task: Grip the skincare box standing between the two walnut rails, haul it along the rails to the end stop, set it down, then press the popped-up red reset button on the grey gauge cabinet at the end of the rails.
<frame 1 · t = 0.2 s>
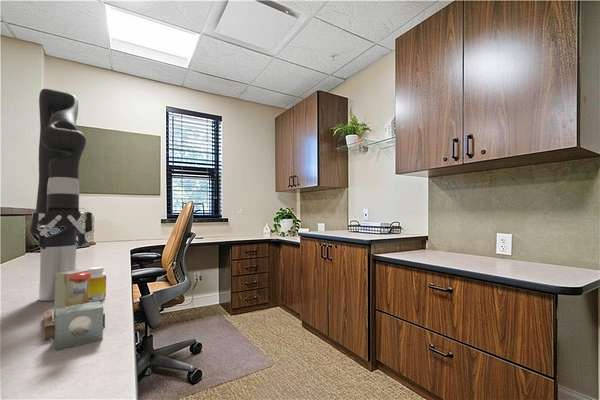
hand: (62, 247, 86), 18 cm above the table, tool pointing down, fingers open, 8 cm apart
gauge cabinet: (78, 340, 63), on the table
supplement bottle: (95, 300, 93), on the table
rail: (72, 322, 74), on the table
skincare box: (71, 317, 78), on the table
reset button: (80, 283, 64), point 12 cm above the table, slide at 3.0 cm
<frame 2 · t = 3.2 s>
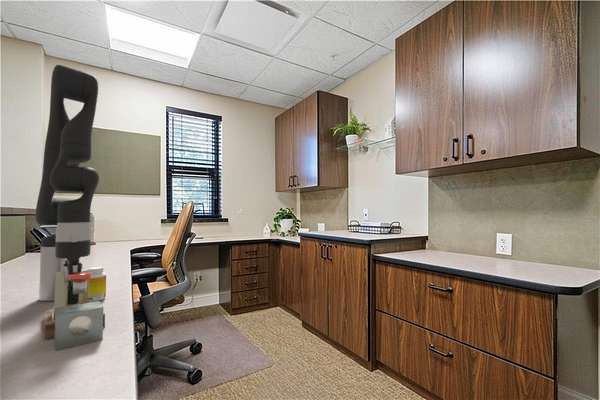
hand: (71, 300, 78), 4 cm above the table, tool pointing down, fingers closed on skincare box, 7 cm apart
skincare box: (71, 317, 78), on the table, touching gripper
everything else where it was.
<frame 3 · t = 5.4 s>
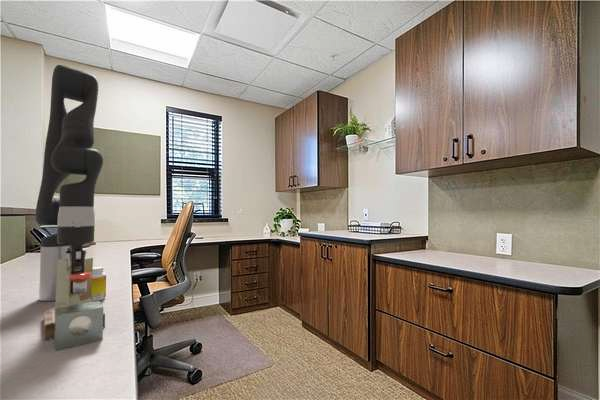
hand: (74, 290, 73), 8 cm above the table, tool pointing down, fingers closed on skincare box, 7 cm apart
skincare box: (74, 308, 73), point 4 cm above the table, touching gripper
everything else where it was.
when the fingers open (5 cm above the table, at t = 7.6 s): skincare box stays where it is, on the table.
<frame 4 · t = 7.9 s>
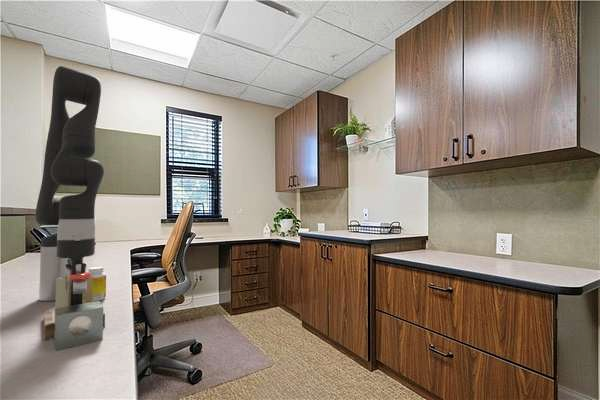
hand: (74, 302, 71), 6 cm above the table, tool pointing down, fingers open, 8 cm apart
skincare box: (73, 326, 71), on the table
everything else where it was.
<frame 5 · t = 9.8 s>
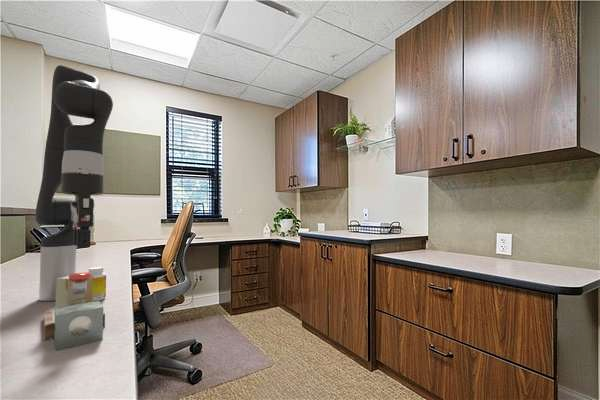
hand: (81, 246, 64), 20 cm above the table, tool pointing down, fingers open, 7 cm apart
nothing on the table moved.
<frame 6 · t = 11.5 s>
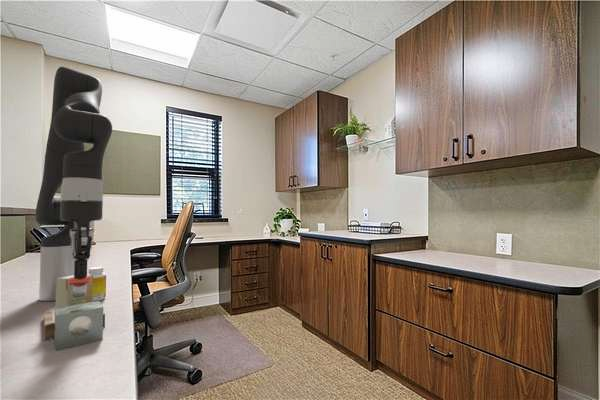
hand: (80, 277, 64), 14 cm above the table, tool pointing down, fingers closed
reset button: (79, 286, 64), point 12 cm above the table, slide at 2.2 cm, touching gripper
everything else where it was.
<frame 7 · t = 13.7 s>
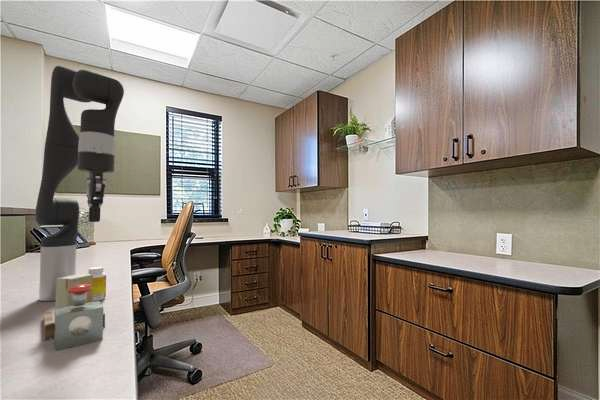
hand: (94, 221, 72), 26 cm above the table, tool pointing down, fingers closed
reset button: (79, 295, 64), point 10 cm above the table, slide at 0.4 cm
everything else where it was.
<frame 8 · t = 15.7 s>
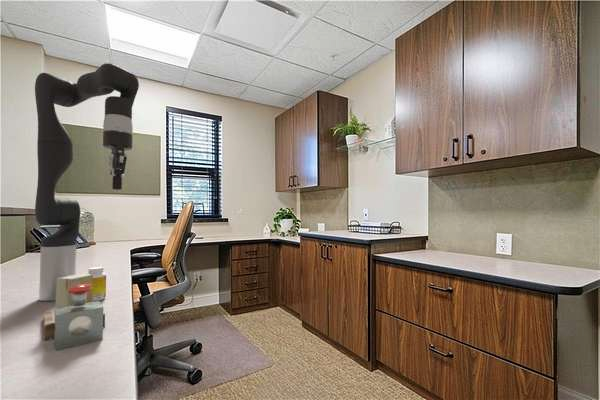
hand: (116, 189, 87), 35 cm above the table, tool pointing down, fingers closed
nothing on the table moved.
at the end: skincare box inside the target area (0.7 cm from its centre), on the table; skincare box tilted 0°; reset button slide at 0.4 cm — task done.
